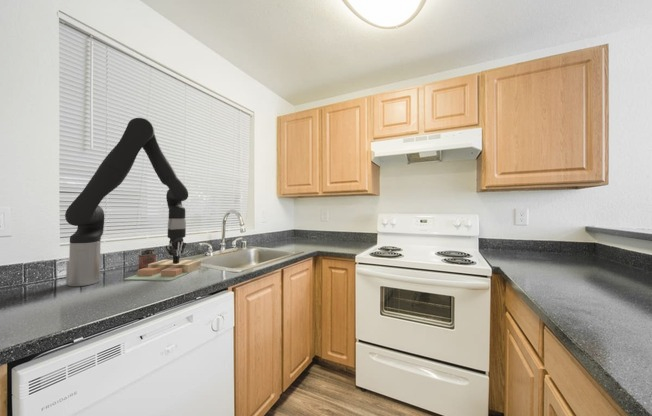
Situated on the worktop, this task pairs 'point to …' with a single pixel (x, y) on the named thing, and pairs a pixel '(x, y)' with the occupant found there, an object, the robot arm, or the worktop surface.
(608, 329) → the worktop surface
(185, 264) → the wooden tray
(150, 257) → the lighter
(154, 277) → the mat
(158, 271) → the tile
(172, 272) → the tile
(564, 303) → the worktop surface
